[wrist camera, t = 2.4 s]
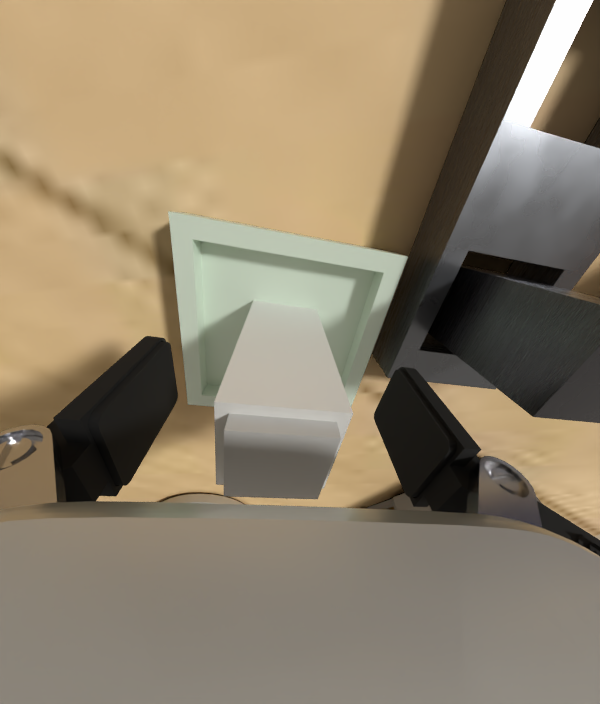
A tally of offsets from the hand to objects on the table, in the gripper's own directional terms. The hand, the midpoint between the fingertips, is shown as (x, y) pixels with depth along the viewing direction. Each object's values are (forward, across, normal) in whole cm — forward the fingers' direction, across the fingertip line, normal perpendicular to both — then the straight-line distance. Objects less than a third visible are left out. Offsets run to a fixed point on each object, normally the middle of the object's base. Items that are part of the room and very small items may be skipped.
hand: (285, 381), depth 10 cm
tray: (+7, 0, +1) cm, 7 cm away
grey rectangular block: (+6, 0, +1) cm, 6 cm away
